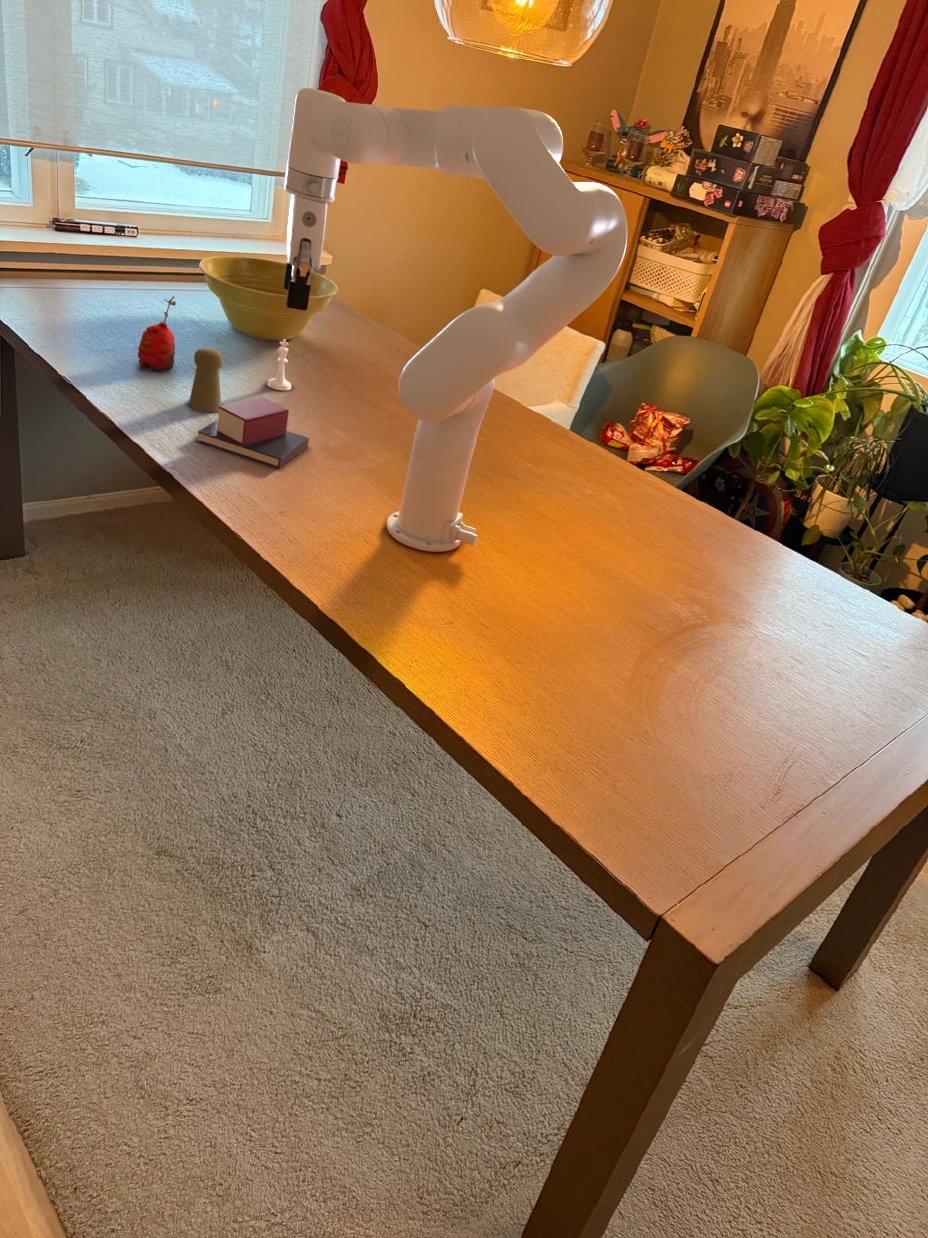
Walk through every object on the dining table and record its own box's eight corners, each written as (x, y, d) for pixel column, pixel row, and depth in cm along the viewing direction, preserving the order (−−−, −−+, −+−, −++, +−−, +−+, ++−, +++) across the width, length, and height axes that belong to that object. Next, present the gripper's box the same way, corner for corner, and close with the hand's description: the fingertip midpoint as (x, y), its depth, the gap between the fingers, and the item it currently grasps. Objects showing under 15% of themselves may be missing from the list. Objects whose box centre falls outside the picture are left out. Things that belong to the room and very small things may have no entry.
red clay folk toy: (147, 357, 190) (149, 284, 182) (180, 366, 190) (184, 293, 182) (132, 368, 183) (134, 292, 175) (166, 376, 183) (170, 301, 176)
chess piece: (293, 391, 192) (299, 344, 187) (269, 389, 190) (275, 342, 185) (288, 382, 196) (293, 336, 191) (265, 380, 194) (270, 334, 189)
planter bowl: (170, 308, 220) (173, 251, 213) (284, 308, 241) (290, 256, 234) (239, 357, 202) (245, 296, 195) (356, 353, 223) (365, 297, 216)
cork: (213, 414, 173) (217, 358, 167) (183, 406, 173) (186, 349, 167) (226, 405, 178) (231, 350, 172) (197, 397, 178) (201, 341, 172)
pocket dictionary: (285, 435, 167) (288, 409, 165) (244, 446, 159) (246, 420, 156) (258, 421, 170) (261, 396, 167) (216, 432, 162) (218, 405, 159)
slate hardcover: (307, 447, 170) (309, 437, 169) (279, 468, 160) (280, 458, 158) (229, 422, 172) (230, 412, 170) (196, 441, 161) (197, 431, 160)
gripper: (341, 202, 130) (322, 320, 139) (331, 179, 144) (314, 288, 153) (288, 190, 128) (272, 311, 137) (283, 168, 142) (269, 279, 151)
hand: (294, 299), depth 145 cm, fingers open, 9 cm apart
